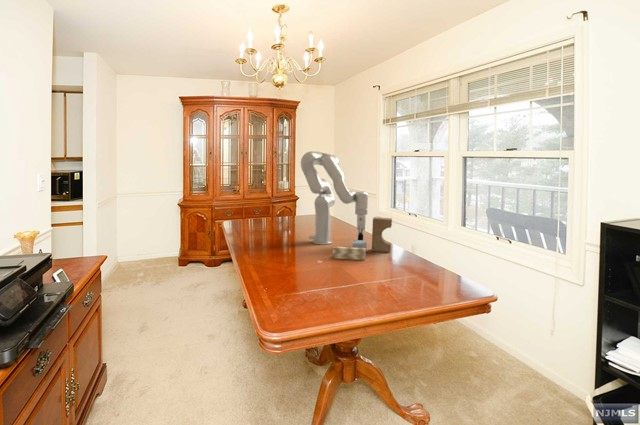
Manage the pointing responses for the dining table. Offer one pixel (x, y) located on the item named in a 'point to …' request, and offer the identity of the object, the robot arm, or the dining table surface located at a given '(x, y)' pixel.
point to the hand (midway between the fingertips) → (360, 240)
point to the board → (349, 253)
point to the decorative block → (380, 234)
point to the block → (359, 244)
